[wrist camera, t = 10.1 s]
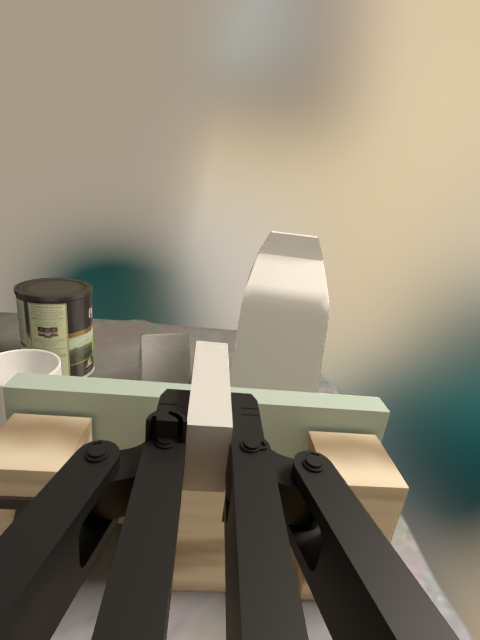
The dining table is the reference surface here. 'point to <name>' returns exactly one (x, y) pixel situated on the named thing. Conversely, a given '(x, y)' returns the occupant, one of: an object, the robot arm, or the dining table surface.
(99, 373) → the dining table surface
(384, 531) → the numbered block 1
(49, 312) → the coffee can
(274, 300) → the milk
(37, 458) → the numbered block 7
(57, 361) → the mug
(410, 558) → the dining table surface
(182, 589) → the plain block
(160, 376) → the white juice carton
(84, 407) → the rack board
